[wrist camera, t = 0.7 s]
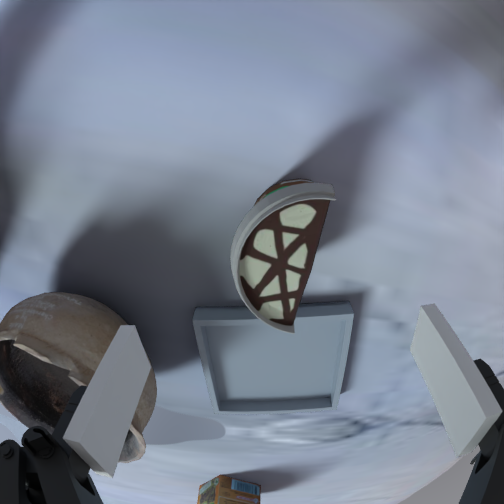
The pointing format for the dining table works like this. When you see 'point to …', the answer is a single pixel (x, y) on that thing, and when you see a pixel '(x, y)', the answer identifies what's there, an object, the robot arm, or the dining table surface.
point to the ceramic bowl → (61, 361)
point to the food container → (279, 249)
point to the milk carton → (228, 491)
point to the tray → (274, 359)
